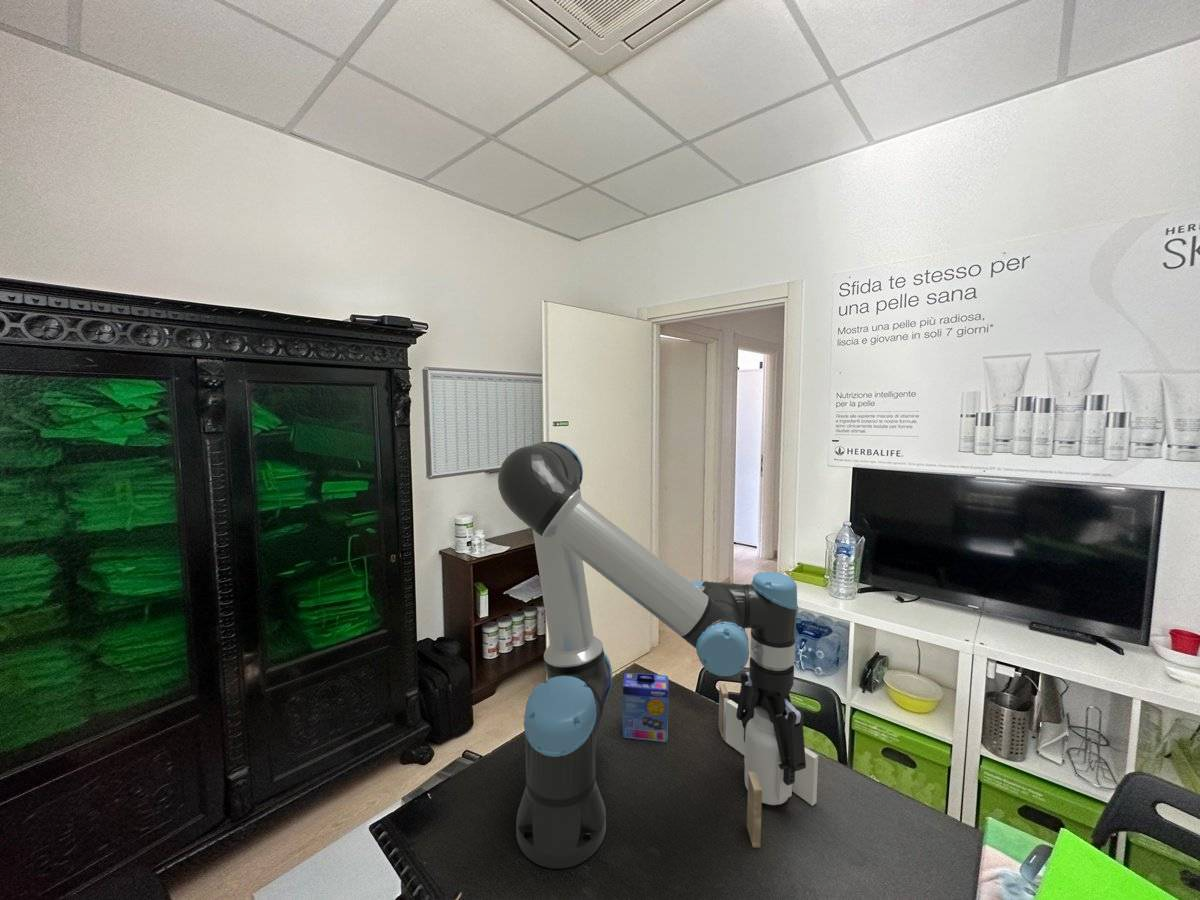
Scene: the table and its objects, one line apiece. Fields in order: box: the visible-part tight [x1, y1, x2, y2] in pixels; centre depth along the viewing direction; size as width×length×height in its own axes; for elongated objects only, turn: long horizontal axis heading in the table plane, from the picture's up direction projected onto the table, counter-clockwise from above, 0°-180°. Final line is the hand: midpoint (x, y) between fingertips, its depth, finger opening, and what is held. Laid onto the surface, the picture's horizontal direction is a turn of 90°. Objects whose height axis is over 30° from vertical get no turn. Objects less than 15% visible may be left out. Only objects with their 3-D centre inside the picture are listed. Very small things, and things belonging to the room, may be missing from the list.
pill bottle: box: [744, 706, 790, 806], centre depth 86 cm, size 8×8×15 cm
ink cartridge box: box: [622, 672, 670, 743], centre depth 102 cm, size 10×6×14 cm, turn 83°
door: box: [722, 697, 819, 807], centre depth 92 cm, size 1×21×9 cm, turn 35°
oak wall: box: [718, 683, 763, 849], centre depth 90 cm, size 1×29×10 cm, turn 177°
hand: (766, 778), depth 86 cm, fingers closed on pill bottle, 8 cm apart
